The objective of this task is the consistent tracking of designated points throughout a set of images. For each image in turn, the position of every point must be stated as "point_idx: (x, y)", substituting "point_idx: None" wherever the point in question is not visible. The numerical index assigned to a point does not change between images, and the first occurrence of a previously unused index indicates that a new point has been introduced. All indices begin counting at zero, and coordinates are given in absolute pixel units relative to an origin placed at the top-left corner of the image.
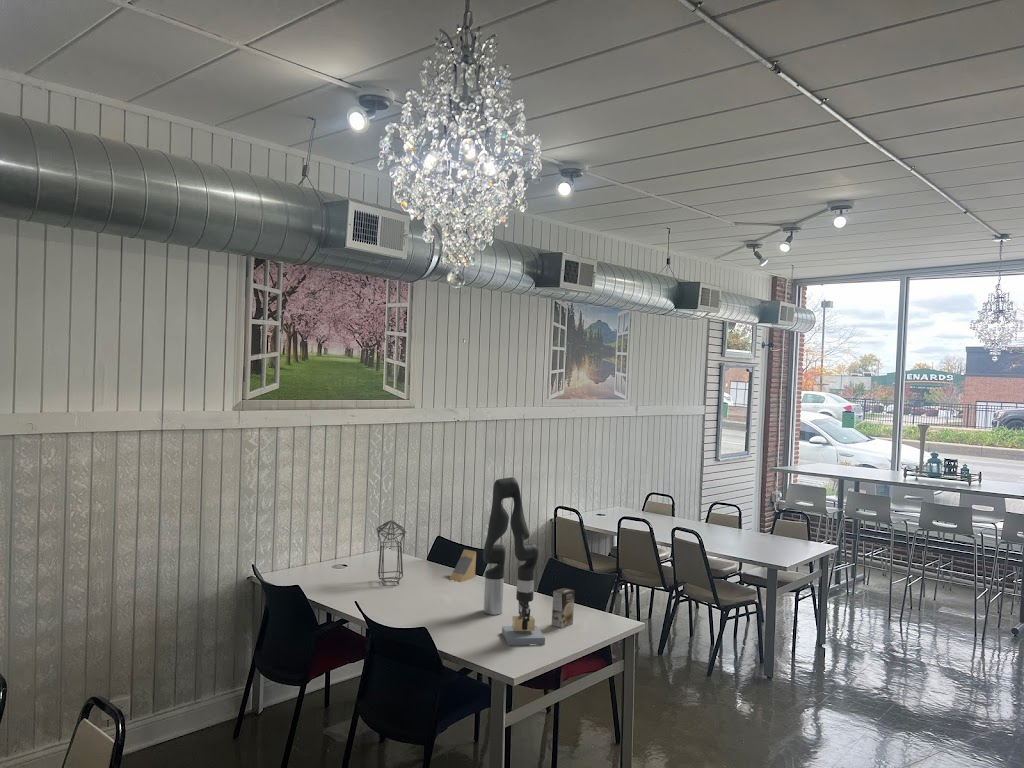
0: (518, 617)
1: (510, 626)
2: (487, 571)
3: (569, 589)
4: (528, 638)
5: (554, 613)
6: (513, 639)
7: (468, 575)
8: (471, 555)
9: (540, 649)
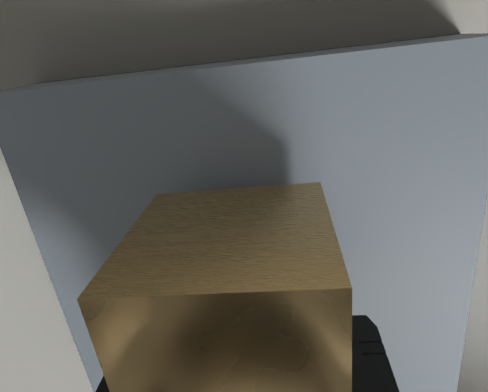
0: (252, 384)
1: (477, 163)
2: None
3: None
4: (62, 304)
5: None
6: (9, 149)
7: None
8: None
9: (22, 334)
